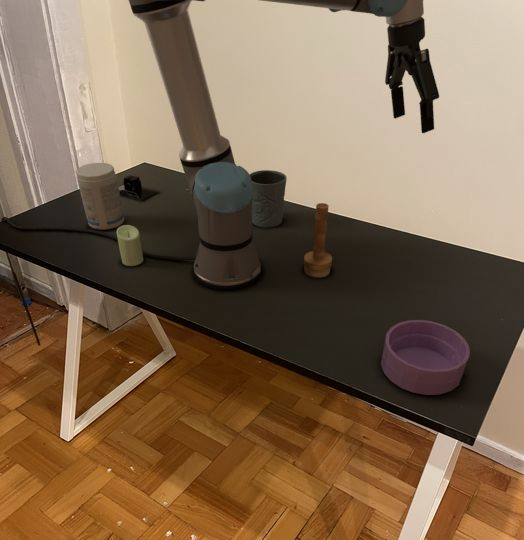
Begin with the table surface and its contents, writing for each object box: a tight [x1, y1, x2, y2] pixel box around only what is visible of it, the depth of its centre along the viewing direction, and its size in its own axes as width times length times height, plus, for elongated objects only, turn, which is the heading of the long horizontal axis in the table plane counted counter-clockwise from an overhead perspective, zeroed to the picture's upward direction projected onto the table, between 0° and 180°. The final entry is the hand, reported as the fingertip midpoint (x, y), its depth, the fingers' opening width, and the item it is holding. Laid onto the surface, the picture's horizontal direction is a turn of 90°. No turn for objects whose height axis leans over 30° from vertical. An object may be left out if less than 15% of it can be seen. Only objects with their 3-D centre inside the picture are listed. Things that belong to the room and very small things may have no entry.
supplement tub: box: [75, 162, 125, 231], centre depth 135 cm, size 10×10×15 cm
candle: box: [116, 224, 144, 267], centre depth 121 cm, size 5×5×8 cm
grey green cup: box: [249, 169, 287, 228], centre depth 137 cm, size 10×10×12 cm
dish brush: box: [303, 202, 333, 278], centre depth 116 cm, size 6×6×16 cm
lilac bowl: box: [380, 319, 471, 396], centre depth 92 cm, size 14×14×6 cm
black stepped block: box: [118, 174, 158, 202], centre depth 154 cm, size 12×7×5 cm, turn 60°
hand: (413, 123), depth 122 cm, fingers open, 13 cm apart
